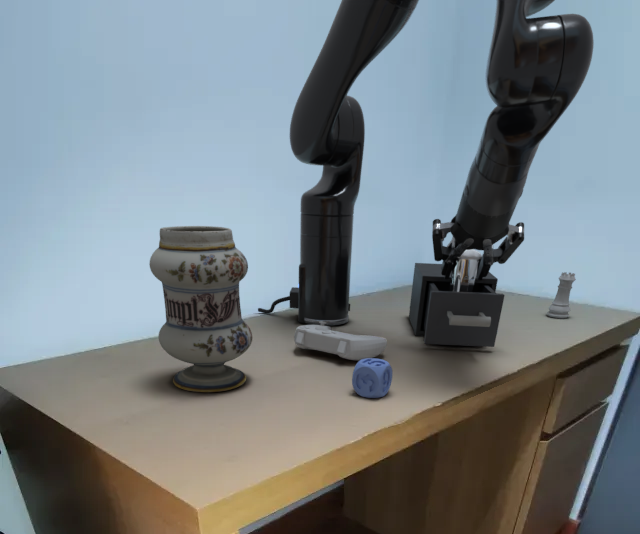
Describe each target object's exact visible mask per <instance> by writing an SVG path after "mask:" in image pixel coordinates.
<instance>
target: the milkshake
mask: <svg viewBox="0 0 640 534" xmlns="http://www.w3.org/2000/svg"><path fill="white" fill-rule="evenodd" d="M483 254H484V251H483V252H482V253H481V252H480V251H479V250H476V249H470V250H465V251H464V253H463V254H462V255H461V256H460V257H457V258H456V259H455V260H454V262H453V268H452V272H451V283H450V291H453V292H472V291H473V287H474V283H475V279H476V276H477V273H478V269H479V266H480V262H481V259H482V256H483Z"/></svg>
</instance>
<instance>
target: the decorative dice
mask: <svg viewBox="0 0 640 534" xmlns="http://www.w3.org/2000/svg"><path fill="white" fill-rule="evenodd" d="M392 382H393V368H392V366H391V364H390V363H389V362H388V361H387V360H385V359H382V358H375V357H373V358H366V359H361V360H358V361H357V362H356V364H355V366H354V369H353V372H352V376H351V385H352V388H353V390H354V392H355V393H356V394H357V395H358V396H360V397H363V398H367V399H368V398H369V399H378V398H383V397H385V396H386V395H387V394H388V392H389V390H390V388H391V385H392Z"/></svg>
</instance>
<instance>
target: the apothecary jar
mask: <svg viewBox="0 0 640 534" xmlns="http://www.w3.org/2000/svg"><path fill="white" fill-rule="evenodd" d="M158 242H159V243H158V247H157V248H156V249H155V250H154V251H153V252H152V253H151V256H150V258H149V263H148V264H149V269H150V272H151V273H152V275H153V276H154V278H156V279H157V280H158V281H159V282H161V285H162V293H163V299H164V311H165V323H164V324H162V326H161V327H160V329H159V331H158V341H159V345H160V347H161V348H162V350H164V352H166V353H167V355H169V356H170V357H172V358H174V359H176V360H178V361H181V362H183V363H187V364H190V365H191V364H192V365H191V366H187V367H186V368H184V369H182V370H180V371H178V372H177V373H176V374H174V376H173V378H172V383H173V384H174V386H175V387H176V388H179V389H181V390H183V391H188V392H194V393H195V392H196V393H217V392H218V393H219V392H225V391H230V390H234V389H237V388H239V387H241V386H243V385H244V384H245V383H246V381H247V375H246V374H245V373H244V372H243V371H242V370H240V369H237V368H236V367H232V366H230V365H227V364H226V363H228V362H230V361H233V360H236V359H237V358H239V357H240V356H242V355H243V354H245V352H247V351H248V349H250V347H251V345H252V343H253V333H252V330H251V328H250V326H249V324H248V323H247V322H245V320H244V319H243V317H242V309H241V297H240V282H241V281H243V279H244V278H245V277H246V275H247V273H248V271H249V270H248V269H249V263H248V260H247V258H246V256H245V255H244V253H243V252H242V251H241V250H239V248H237V247H236V244H235V241H234V235H233V230H232V229H231V228H229V227H223V226H212V225H211V226H208V225H180V226H179V225H178V226H165V227H161V228H159V241H158Z"/></svg>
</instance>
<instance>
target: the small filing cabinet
mask: <svg viewBox="0 0 640 534" xmlns="http://www.w3.org/2000/svg"><path fill="white" fill-rule="evenodd" d="M441 268H442V263H426V262H425V263H424V262H415V263H414V269H413V278H412V286H411V295H410V303H409V310H408V311H409V312H408V318H409V321H410V324H411V327H412V331H413V333H414V336H415V337H425V331H424V328H423V326H422V323H421V322H422V315H423V307H424V299H425V291H426V283H427V281H435V282H451V274H450V277H449V279H444V275H442V274H441ZM451 272H452V271H451ZM498 281H499V280H498V278H497V277H496V276H495V275H494V274H493V273H491V272H490V271H489V272H488V275H487V276H486V277H483V278H482V280H477V276H476V279H475V283H482V284H487V285H488V286H489V287H490V288H491V289H492V290H493V291H495V292H496V291H497V287H498V286H497V285H498Z"/></svg>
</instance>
